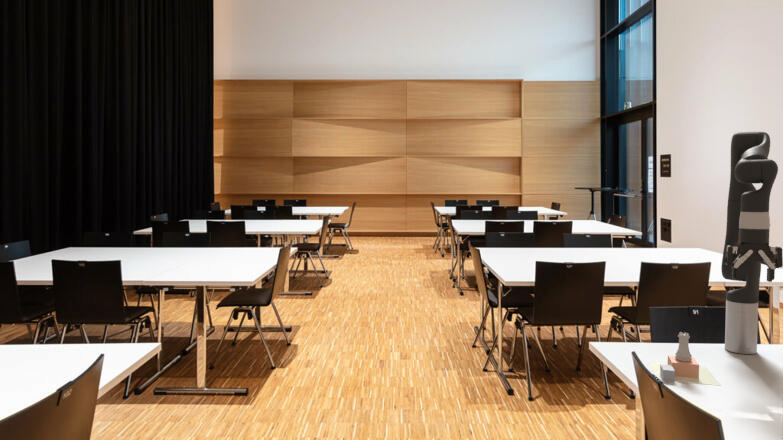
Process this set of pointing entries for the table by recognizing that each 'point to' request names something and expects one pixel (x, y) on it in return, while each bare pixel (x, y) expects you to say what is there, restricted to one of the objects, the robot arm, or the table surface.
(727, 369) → the table surface
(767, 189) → the robot arm
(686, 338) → the rook chess piece
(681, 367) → the terracotta brick
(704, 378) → the plate
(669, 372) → the slate brick
